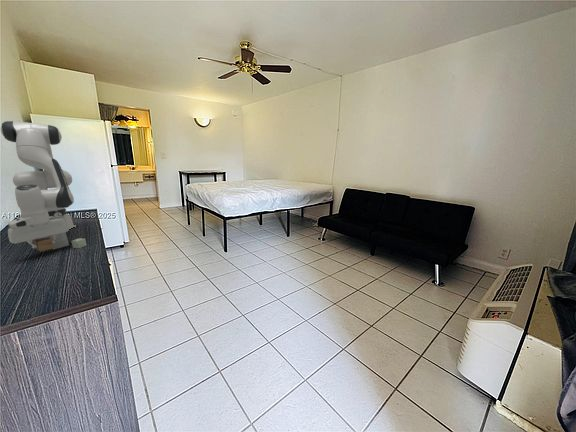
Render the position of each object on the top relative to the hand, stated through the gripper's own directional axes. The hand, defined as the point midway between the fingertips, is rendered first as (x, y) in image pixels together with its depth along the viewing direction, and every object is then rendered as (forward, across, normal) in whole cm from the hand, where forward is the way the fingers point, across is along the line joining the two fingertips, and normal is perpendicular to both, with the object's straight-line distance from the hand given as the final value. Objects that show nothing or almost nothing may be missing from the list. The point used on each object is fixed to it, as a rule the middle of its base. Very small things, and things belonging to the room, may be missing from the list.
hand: (44, 245), depth 115 cm
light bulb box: (+5, -7, -9) cm, 13 cm away
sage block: (+4, -12, +4) cm, 13 cm away
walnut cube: (+2, 0, 0) cm, 2 cm away
